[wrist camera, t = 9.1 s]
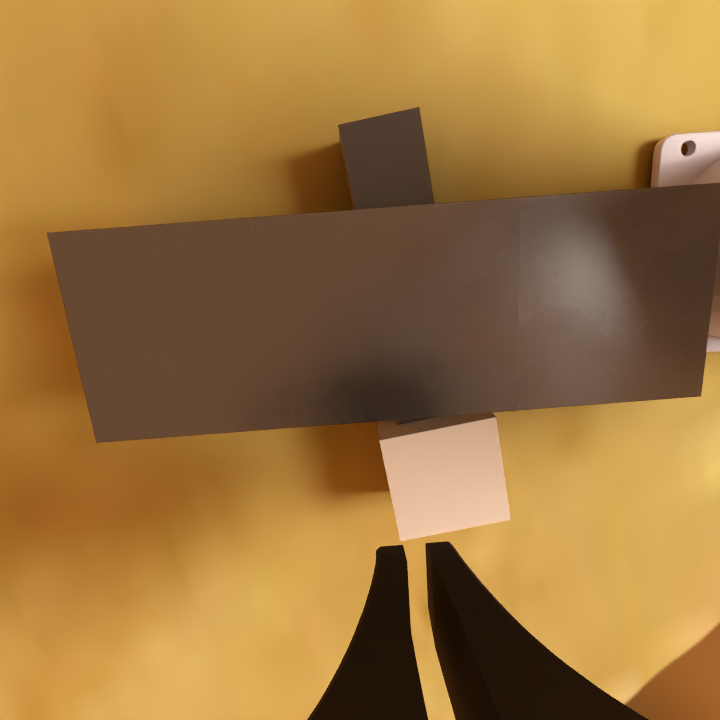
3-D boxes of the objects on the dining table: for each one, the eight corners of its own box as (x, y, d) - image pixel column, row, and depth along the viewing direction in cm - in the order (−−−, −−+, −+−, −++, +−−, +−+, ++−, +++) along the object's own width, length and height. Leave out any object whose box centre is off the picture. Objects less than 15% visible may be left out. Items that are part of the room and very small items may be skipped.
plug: (429, 122, 16) (450, 91, 13) (482, 471, 20) (510, 519, 16) (319, 146, 16) (311, 121, 13) (391, 490, 20) (400, 541, 16)
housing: (618, 199, 17) (726, 182, 12) (608, 355, 18) (700, 396, 14) (133, 235, 17) (47, 233, 12) (163, 389, 18) (96, 442, 14)
